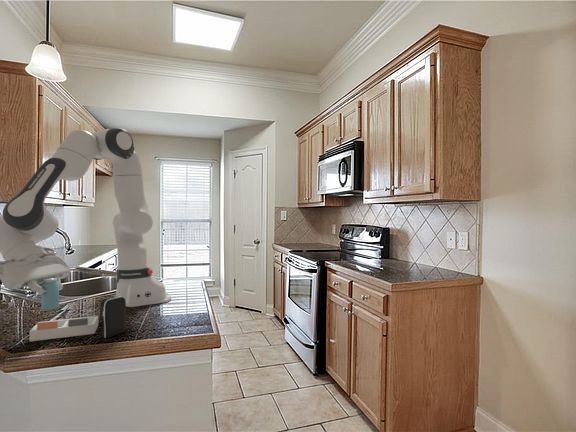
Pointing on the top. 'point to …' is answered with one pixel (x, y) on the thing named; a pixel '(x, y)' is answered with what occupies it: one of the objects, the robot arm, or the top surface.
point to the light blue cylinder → (50, 294)
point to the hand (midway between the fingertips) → (52, 291)
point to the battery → (113, 316)
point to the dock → (64, 328)
